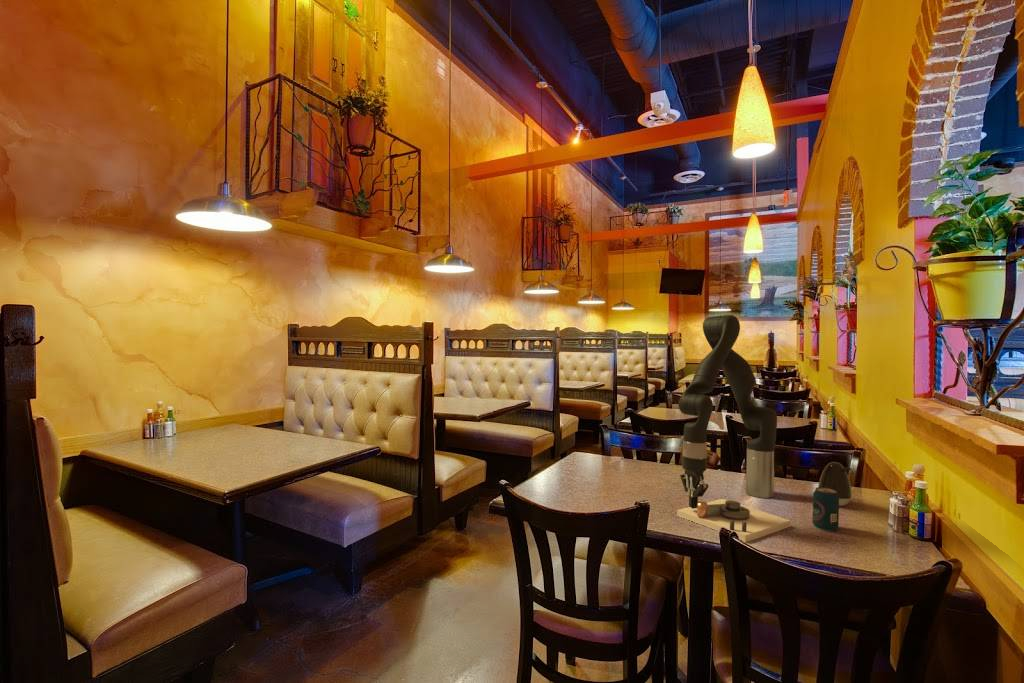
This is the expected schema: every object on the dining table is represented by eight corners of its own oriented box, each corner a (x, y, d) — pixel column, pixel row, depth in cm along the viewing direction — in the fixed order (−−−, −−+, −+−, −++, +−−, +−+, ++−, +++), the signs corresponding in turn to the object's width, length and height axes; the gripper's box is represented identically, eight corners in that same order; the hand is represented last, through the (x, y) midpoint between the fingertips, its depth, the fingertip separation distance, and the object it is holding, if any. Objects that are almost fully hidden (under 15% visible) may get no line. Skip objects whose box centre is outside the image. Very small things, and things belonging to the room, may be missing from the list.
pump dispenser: (840, 510, 171) (841, 466, 171) (811, 501, 180) (812, 459, 180) (858, 506, 175) (859, 464, 175) (829, 498, 185) (830, 457, 185)
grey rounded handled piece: (735, 507, 164) (736, 495, 164) (756, 518, 155) (757, 505, 155) (688, 510, 161) (689, 498, 161) (707, 521, 151) (707, 508, 151)
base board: (721, 504, 175) (722, 491, 175) (790, 526, 155) (790, 512, 155) (677, 516, 162) (677, 502, 162) (745, 542, 142) (745, 527, 142)
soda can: (807, 524, 158) (808, 486, 157) (827, 523, 158) (828, 486, 158) (822, 532, 151) (823, 493, 151) (843, 532, 151) (844, 493, 151)
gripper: (673, 450, 167) (672, 501, 167) (695, 460, 154) (694, 515, 154) (693, 450, 169) (691, 500, 169) (717, 459, 156) (715, 514, 156)
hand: (693, 507), depth 162 cm, fingers closed
